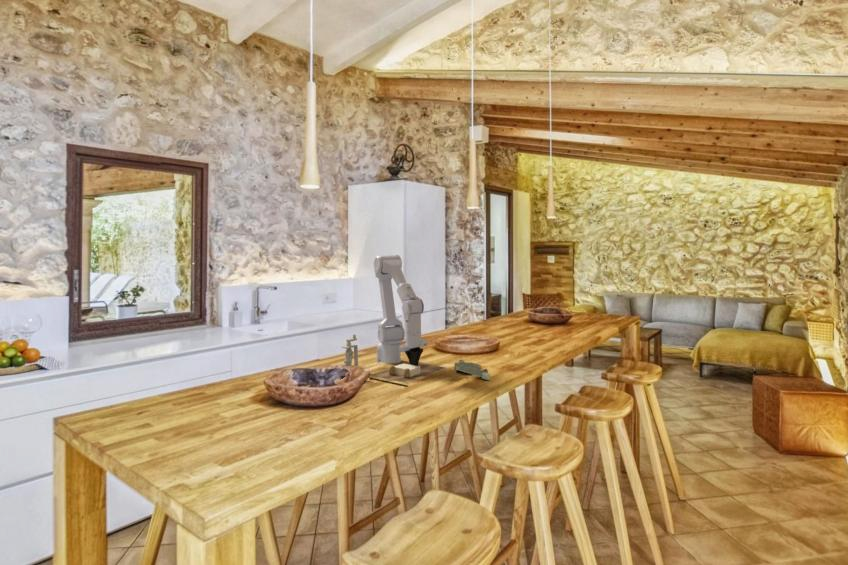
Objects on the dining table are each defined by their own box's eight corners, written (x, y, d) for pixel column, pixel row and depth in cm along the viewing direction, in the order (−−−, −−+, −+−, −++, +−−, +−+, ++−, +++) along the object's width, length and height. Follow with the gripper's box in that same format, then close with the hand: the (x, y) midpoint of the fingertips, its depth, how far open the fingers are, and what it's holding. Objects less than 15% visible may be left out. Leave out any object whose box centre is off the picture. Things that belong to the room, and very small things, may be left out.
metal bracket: (455, 365, 171) (454, 355, 186) (451, 380, 172) (450, 370, 187) (495, 376, 171) (491, 365, 186) (490, 392, 172) (486, 380, 187)
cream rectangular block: (393, 373, 177) (392, 366, 177) (403, 370, 182) (403, 363, 181) (409, 376, 172) (409, 370, 172) (420, 373, 177) (420, 366, 177)
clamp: (336, 379, 176) (335, 338, 175) (349, 372, 185) (348, 333, 184) (346, 380, 175) (345, 339, 173) (359, 373, 184) (358, 334, 182)
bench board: (369, 379, 176) (369, 366, 175) (411, 365, 195) (411, 354, 194) (405, 386, 165) (404, 373, 165) (446, 371, 184) (446, 359, 184)
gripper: (409, 335, 171) (409, 374, 172) (433, 329, 182) (434, 365, 183) (394, 333, 175) (394, 371, 176) (419, 328, 186) (419, 363, 187)
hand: (414, 368), depth 180 cm, fingers closed
